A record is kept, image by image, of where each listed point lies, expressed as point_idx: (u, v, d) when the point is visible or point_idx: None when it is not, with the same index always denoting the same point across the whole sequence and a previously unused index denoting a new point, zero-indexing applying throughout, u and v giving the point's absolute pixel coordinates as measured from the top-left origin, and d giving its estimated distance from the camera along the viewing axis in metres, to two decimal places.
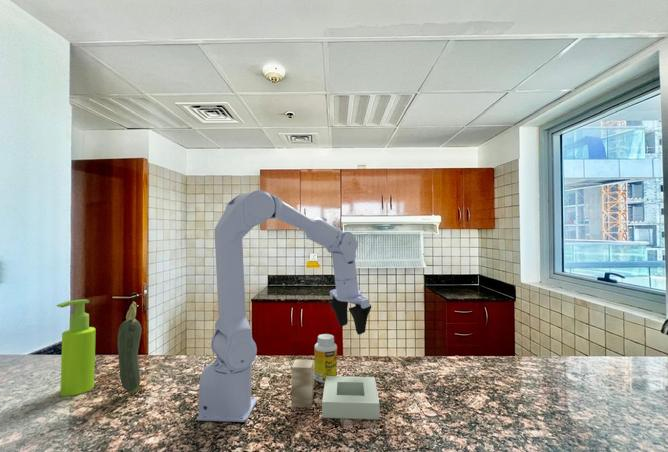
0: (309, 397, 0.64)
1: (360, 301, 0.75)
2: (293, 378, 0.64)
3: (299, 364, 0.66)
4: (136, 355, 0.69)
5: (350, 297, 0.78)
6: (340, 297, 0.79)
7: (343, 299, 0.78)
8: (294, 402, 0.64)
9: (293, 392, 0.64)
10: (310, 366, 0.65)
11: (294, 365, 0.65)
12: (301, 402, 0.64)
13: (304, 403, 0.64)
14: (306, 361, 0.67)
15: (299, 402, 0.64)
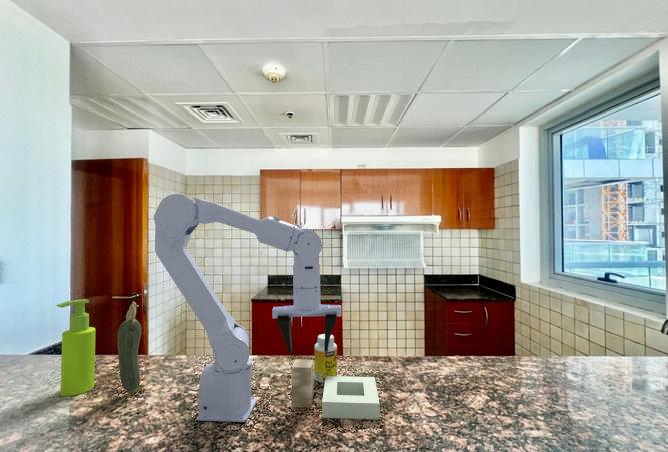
0: (309, 397, 0.64)
1: None
2: (293, 378, 0.64)
3: (299, 364, 0.66)
4: (136, 355, 0.69)
5: None
6: None
7: None
8: (294, 402, 0.64)
9: (293, 392, 0.64)
10: (310, 366, 0.65)
11: (294, 365, 0.65)
12: (301, 402, 0.64)
13: (304, 403, 0.64)
14: (306, 361, 0.67)
15: (299, 402, 0.64)
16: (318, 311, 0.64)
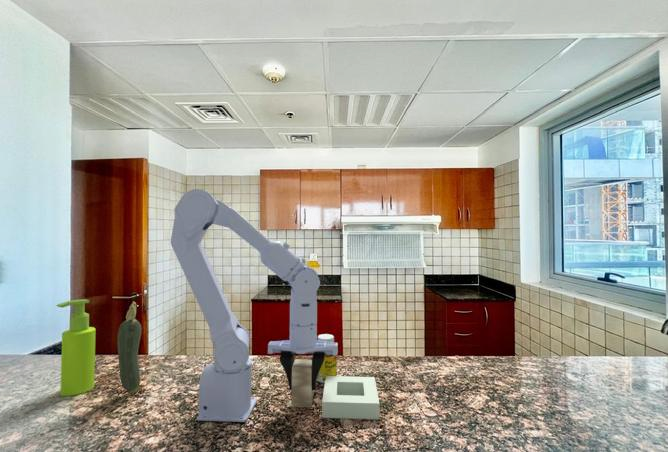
0: (309, 397, 0.64)
1: None
2: (293, 378, 0.64)
3: (299, 363, 0.66)
4: (136, 355, 0.69)
5: None
6: None
7: None
8: (294, 402, 0.64)
9: (293, 392, 0.64)
10: (310, 366, 0.65)
11: (294, 365, 0.65)
12: (301, 402, 0.64)
13: (304, 403, 0.64)
14: (306, 361, 0.67)
15: (299, 402, 0.64)
16: (313, 349, 0.64)
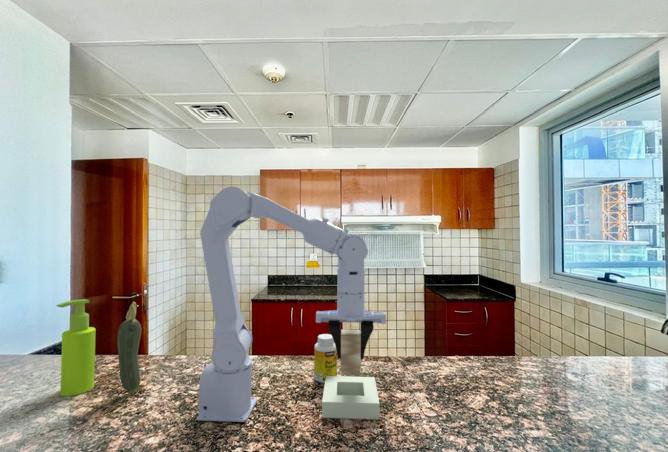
0: (358, 365, 0.64)
1: None
2: (342, 346, 0.64)
3: (347, 333, 0.65)
4: (136, 355, 0.69)
5: None
6: None
7: None
8: (343, 370, 0.64)
9: (342, 360, 0.64)
10: (359, 334, 0.64)
11: (342, 334, 0.65)
12: (350, 370, 0.64)
13: (354, 371, 0.64)
14: (353, 331, 0.67)
15: (348, 370, 0.64)
16: (362, 318, 0.63)
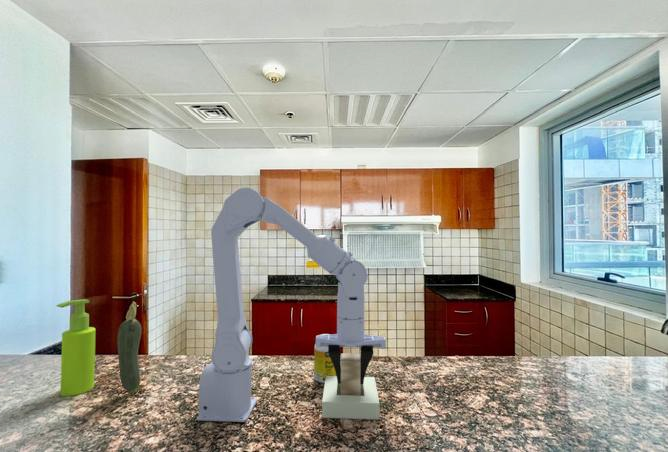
0: (358, 391, 0.63)
1: None
2: (342, 372, 0.64)
3: (347, 357, 0.65)
4: (136, 355, 0.69)
5: None
6: None
7: None
8: None
9: (342, 385, 0.64)
10: (359, 360, 0.64)
11: (342, 359, 0.65)
12: None
13: None
14: (353, 355, 0.67)
15: None
16: (362, 343, 0.63)
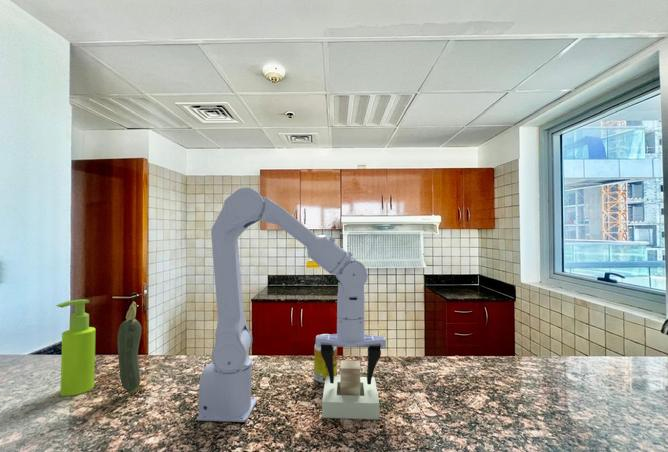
0: None
1: None
2: (342, 379, 0.64)
3: (346, 365, 0.65)
4: (136, 355, 0.69)
5: None
6: None
7: None
8: None
9: (341, 393, 0.64)
10: (358, 367, 0.64)
11: (342, 366, 0.65)
12: None
13: None
14: (353, 362, 0.67)
15: None
16: (362, 343, 0.63)
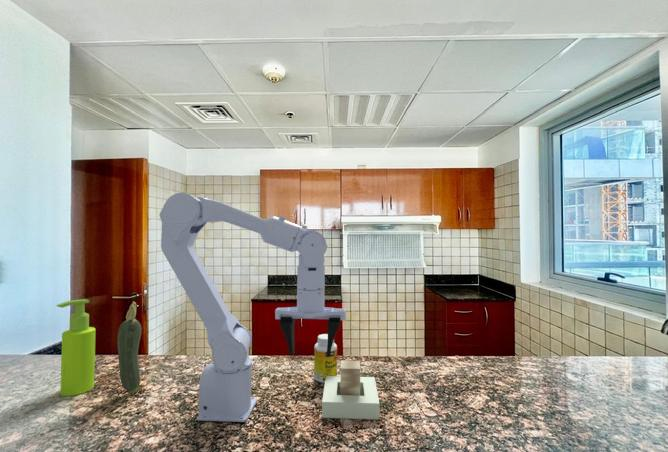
0: None
1: None
2: (342, 379, 0.64)
3: (346, 365, 0.65)
4: (136, 355, 0.69)
5: None
6: None
7: None
8: None
9: (341, 393, 0.64)
10: (358, 367, 0.64)
11: (342, 366, 0.65)
12: None
13: None
14: (353, 362, 0.67)
15: None
16: (321, 314, 0.63)
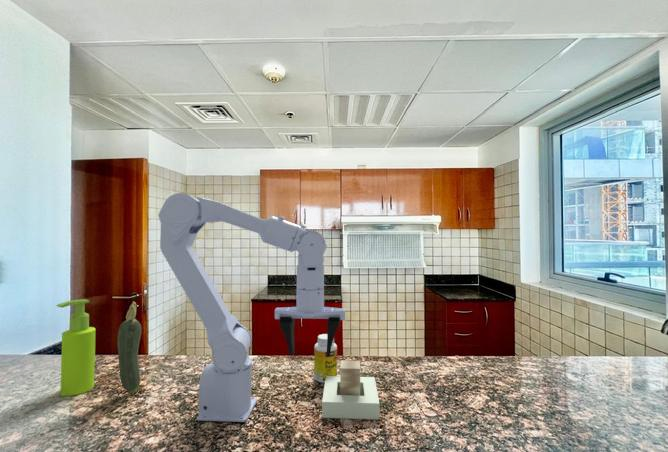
0: None
1: None
2: (342, 379, 0.64)
3: (346, 365, 0.65)
4: (136, 355, 0.69)
5: None
6: None
7: None
8: None
9: (341, 393, 0.64)
10: (358, 367, 0.64)
11: (342, 366, 0.65)
12: None
13: None
14: (353, 362, 0.67)
15: None
16: (320, 314, 0.63)
